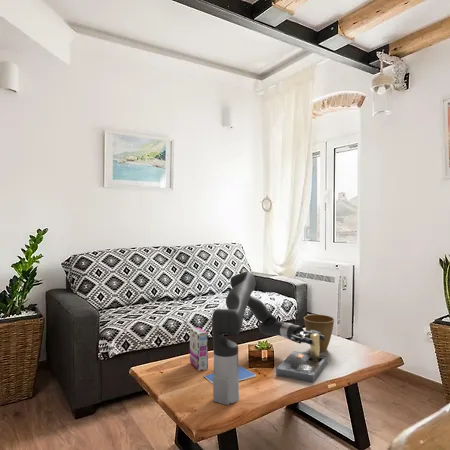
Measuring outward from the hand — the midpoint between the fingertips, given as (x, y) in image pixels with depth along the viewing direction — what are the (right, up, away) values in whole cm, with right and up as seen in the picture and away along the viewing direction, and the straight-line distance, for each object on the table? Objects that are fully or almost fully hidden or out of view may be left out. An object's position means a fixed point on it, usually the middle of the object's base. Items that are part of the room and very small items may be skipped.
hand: (318, 340), depth 171 cm
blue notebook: (-40, -13, -9) cm, 43 cm away
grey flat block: (-7, -12, -2) cm, 14 cm away
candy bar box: (-54, -13, +3) cm, 55 cm away
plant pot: (+6, -12, +23) cm, 26 cm away
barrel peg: (-1, -12, +2) cm, 12 cm away
